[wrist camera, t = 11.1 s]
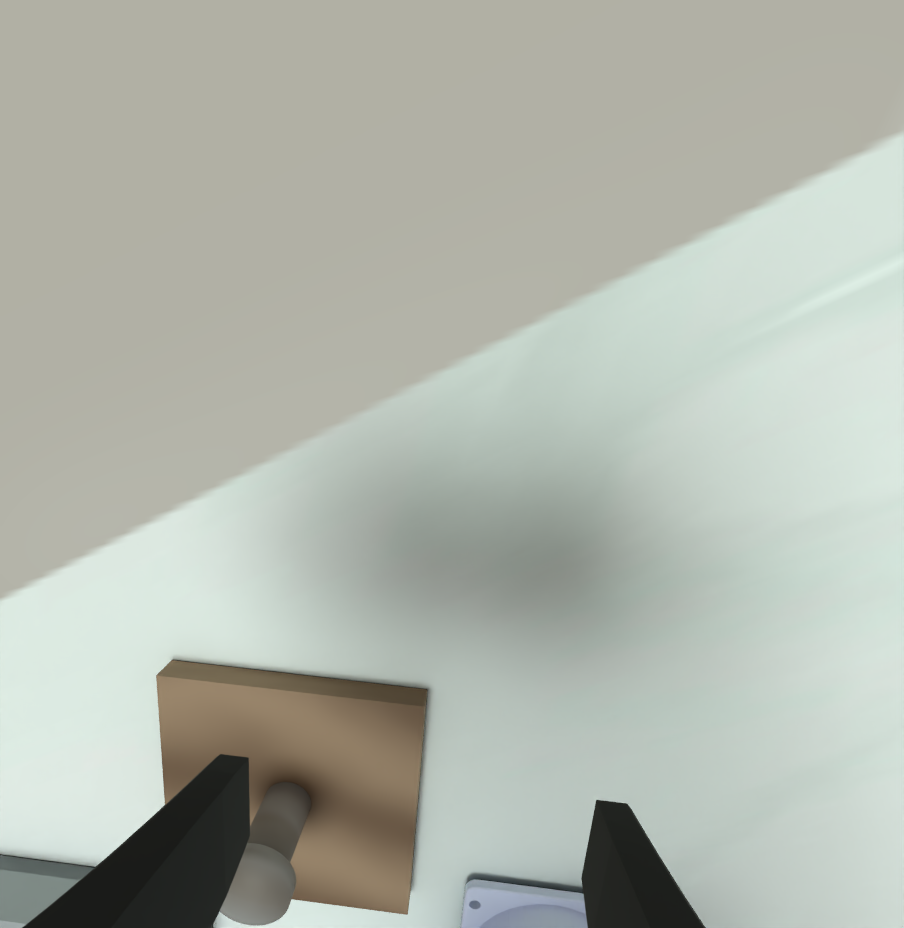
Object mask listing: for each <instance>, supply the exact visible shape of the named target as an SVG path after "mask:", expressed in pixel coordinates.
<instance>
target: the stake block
mask: <svg viewBox="0 0 904 928" xmlns="http://www.w3.org/2000/svg"><path fill="white" fill-rule="evenodd" d="M156 678H157V693H158V707H159V722H160V737H161V751H162V766H163V781H164V795H165V805H166V804H167V803H168V802H169V801H170V800H171V799H172V798H173V797H174V796H175V795H176V794H177V793H179V792H180V791H181V790H182V789H183V788H184V787H185V786H186V785H187V784H188V783H189V782H190V781H191V780H192V779H193V778H194V777H196V776H197V775H198V774H199V773H200V772H201V771H202V770H203V769H204V768H205V767H206V766H207V765H208V764H209V763H210V762H211V761H213V760H214V759H215V758H216V757H217V756H219V755H220V754H224V755H233V756H241V757H249V798H250V837H249V840H248V842H247V845H246V848H245V850H244V853H243V856H242V858H241V861H240V863H239V866H238V869H237V871H236V874H235V876H234V879H233V881H232V884H231V886H230V889H229V891H228V894H227V896H226V898H225V900H224V902H223V905H222V907H221V909H220V912H221V913H222V914H224V915H225V916H226V917H228V918H230V919H232V920H234V921H236V922H239V923H242V924H247V925H266V924H270V923H272V922H275V921H276V920H278V919H280V918H281V917H282V916H283V915H284V914H285V913H286V911H287V909H288V907H289V904H290V901H291V899H295V900H302V901H310V902H317V903H325V904H332V905H340V906H347V907H354V908H362V909H369V910H377V911H384V912H392V913H399V914H408V906H409V899H410V891H411V880H412V868H413V856H414V844H415V832H416V820H417V808H418V796H419V784H420V772H421V760H422V748H423V736H424V724H425V712H426V700H427V689H418V688H410V687H401V686H392V685H384V684H375V683H366V682H357V681H349V680H340V679H331V678H323V677H314V676H305V675H296V674H288V673H279V672H270V671H262V670H253V669H244V668H235V667H227V666H218V665H209V664H201V663H192V662H183V661H174V660H172V661H171V662H170V663H168V664H167V665H166V666H165V667H164V668H163V669H162V670H161V671H160V672H159V673H158V674H157V675H156Z"/></svg>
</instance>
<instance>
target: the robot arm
mask: <svg viewBox="0 0 904 928" xmlns="http://www.w3.org/2000/svg"><path fill="white" fill-rule="evenodd" d="M249 837H250V798H249V757H241V756H233V755H224V754H220V755H219V756H217V757H216V758H215V759H214V760H213V761H211V762H210V763H209V764H208V765H207V766H206V767H205V768H204V769H203V770H202V771H201V772H200V773H199V774H198V775H197V776H196V777H194V778H193V779H192V780H191V781H190V782H189V783H188V784H187V785H186V786H185V787H184V788H183V789H182V790H181V791H180V792H179V793H177V794H176V795H175V796H174V797H173V798H172V799H171V800H170V801H169V802H168V803H167V804H166V805H165V806H163V807H162V808H161V809H160V810H159V811H158V812H157V813H156V814H155V815H154V816H153V817H152V818H150V819H149V820H148V821H147V822H146V823H145V824H144V825H143V826H142V827H140V828H139V829H138V830H137V831H136V832H135V833H134V834H133V835H131V836H130V837H129V838H128V839H127V840H126V841H125V842H124V843H123V844H121V845H120V846H119V847H118V848H117V849H116V850H115V851H114V852H112V853H111V854H110V855H109V856H108V857H107V858H106V859H104V860H103V861H102V862H101V863H100V864H99V865H97V866H96V867H95V868H94V869H93V870H91V871H90V872H89V873H88V874H87V875H86V876H84V877H83V878H82V879H81V880H80V881H78V882H77V883H76V884H75V885H74V886H72V887H71V888H70V889H69V890H68V891H66V892H65V893H64V894H63V895H62V896H60V897H59V898H58V899H57V900H56V901H55V902H53V903H52V904H51V905H50V906H48V907H47V908H46V909H45V910H43V911H42V912H41V913H40V914H38V915H37V916H36V917H35V918H33V919H32V920H31V921H30V922H28V923H27V924H26V925H25V926H23V927H22V928H211V927H212V925H213V923H214V921H215V919H216V917H217V915H218V913H219V911H220V909H221V907H222V905H223V902H224V900H225V898H226V896H227V894H228V891H229V889H230V886H231V884H232V881H233V879H234V876H235V874H236V871H237V869H238V866H239V863H240V861H241V858H242V856H243V853H244V850H245V848H246V845H247V842H248V840H249ZM582 885H583V893H577V892H570V891H562V890H554V889H546V888H539V887H531V886H523V885H516V884H508V883H500V882H493V881H485V880H477V879H476V880H471V881H469V882H468V883H467V884H466V886H465V892H464V901H463V909H462V918H461V926H460V928H705V926H704V925H703V923H702V922H701V920H700V919H699V917H698V916H697V914H696V913H695V911H694V910H693V908H692V907H691V905H690V904H689V902H688V901H687V899H686V898H685V896H684V894H683V893H682V891H681V890H680V888H679V887H678V885H677V884H676V882H675V880H674V879H673V877H672V876H671V874H670V872H669V871H668V869H667V867H666V866H665V864H664V863H663V861H662V859H661V858H660V856H659V855H658V853H657V851H656V850H655V848H654V846H653V845H652V843H651V841H650V840H649V838H648V836H647V835H646V833H645V831H644V830H643V828H642V826H641V825H640V823H639V821H638V820H637V818H636V816H635V815H634V813H633V811H632V809H631V808H630V807H629V806H628V804H626V803H617V802H609V801H601V800H596V805H595V810H594V816H593V821H592V826H591V831H590V837H589V842H588V847H587V852H586V858H585V863H584V868H583V873H582Z"/></svg>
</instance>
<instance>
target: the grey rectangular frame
mask: <svg viewBox="0 0 904 928" xmlns="http://www.w3.org/2000/svg"><path fill="white" fill-rule="evenodd" d="M93 869H94V868H93V867H86V866H78V865H71V864H63V863H56V862H48V861H41V860H33V859H26V858H18V857H11V856H3V855H0V928H22V927H23V926H25V925H26V924H27V923H28V922H30V921H31V920H32V919H33V918H35V917H36V916H37V915H38V914H40V913H41V912H42V911H43V910H45V909H46V908H47V907H48V906H50V905H51V904H52V903H53V902H55V901H56V900H57V899H58V898H59V897H60V896H62V895H63V894H64V893H65V892H66V891H68V890H69V889H70V888H71V887H72V886H74V885H75V884H76V883H77V882H78V881H80V880H81V879H82V878H83V877H84V876H86V875H87V874H88V873H89V872H90V871H91V870H93ZM211 928H213V925H212V927H211Z"/></svg>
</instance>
